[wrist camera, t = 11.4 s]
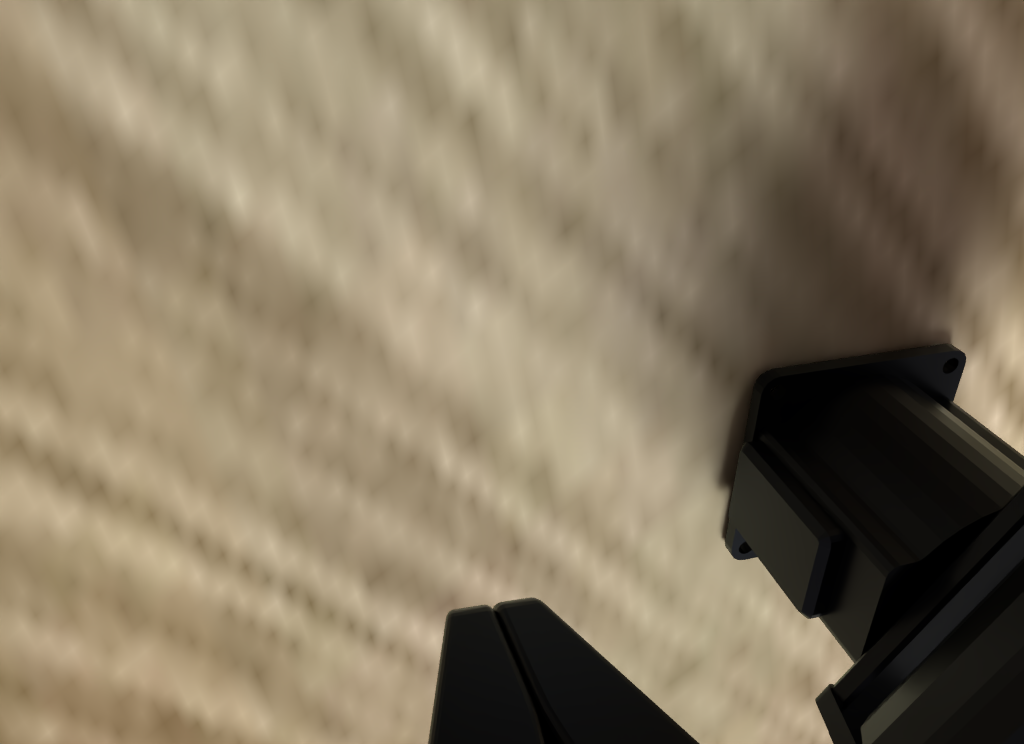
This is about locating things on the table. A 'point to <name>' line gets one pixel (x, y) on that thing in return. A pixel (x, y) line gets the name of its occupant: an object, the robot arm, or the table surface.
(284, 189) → the table surface
